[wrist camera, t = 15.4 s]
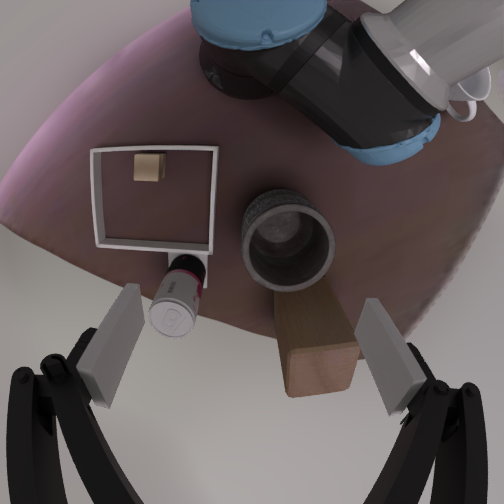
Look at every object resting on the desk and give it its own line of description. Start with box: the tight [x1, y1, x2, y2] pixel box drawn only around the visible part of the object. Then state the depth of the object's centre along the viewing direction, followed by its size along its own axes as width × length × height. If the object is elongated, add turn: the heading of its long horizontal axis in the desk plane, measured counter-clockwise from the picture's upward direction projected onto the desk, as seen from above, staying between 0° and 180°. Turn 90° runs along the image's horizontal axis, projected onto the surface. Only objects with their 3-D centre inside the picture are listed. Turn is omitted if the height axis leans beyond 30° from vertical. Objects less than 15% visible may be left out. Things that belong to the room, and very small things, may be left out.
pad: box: [168, 252, 208, 288], centre depth 49 cm, size 7×7×1 cm
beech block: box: [134, 153, 166, 181], centre depth 40 cm, size 4×4×4 cm
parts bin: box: [90, 145, 219, 255], centre depth 43 cm, size 17×21×3 cm
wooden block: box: [274, 277, 360, 398], centre depth 44 cm, size 10×10×20 cm
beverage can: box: [149, 254, 206, 338], centre depth 42 cm, size 7×7×15 cm
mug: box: [446, 67, 491, 122], centre depth 30 cm, size 15×11×13 cm
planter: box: [241, 189, 336, 292], centre depth 41 cm, size 12×12×13 cm
